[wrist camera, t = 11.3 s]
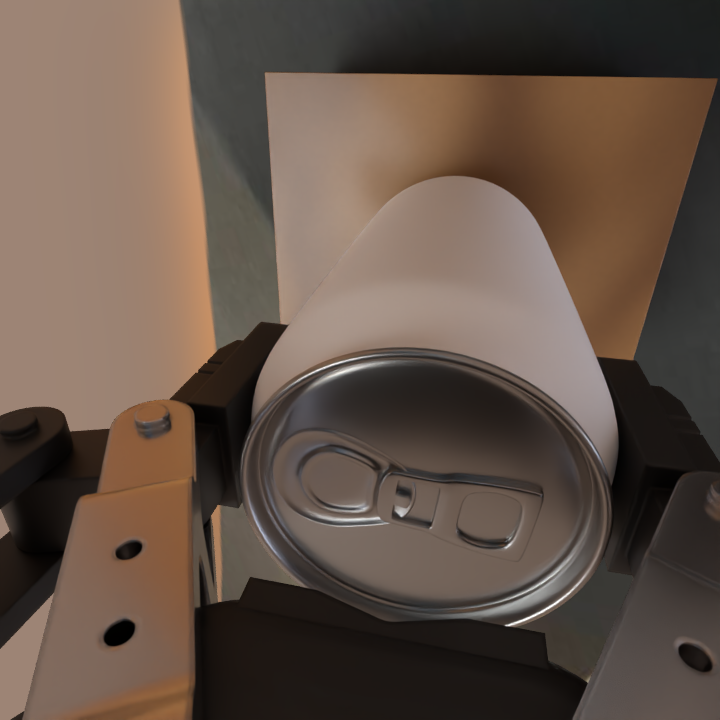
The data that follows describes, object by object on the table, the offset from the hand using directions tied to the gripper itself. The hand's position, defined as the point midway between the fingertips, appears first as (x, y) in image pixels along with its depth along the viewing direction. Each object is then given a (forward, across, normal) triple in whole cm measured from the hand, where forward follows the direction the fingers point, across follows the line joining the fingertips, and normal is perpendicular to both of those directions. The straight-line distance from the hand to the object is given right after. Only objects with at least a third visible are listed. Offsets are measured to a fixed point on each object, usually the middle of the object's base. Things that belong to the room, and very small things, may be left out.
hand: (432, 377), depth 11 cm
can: (+8, 0, 0) cm, 8 cm away
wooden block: (+17, 0, 0) cm, 17 cm away
